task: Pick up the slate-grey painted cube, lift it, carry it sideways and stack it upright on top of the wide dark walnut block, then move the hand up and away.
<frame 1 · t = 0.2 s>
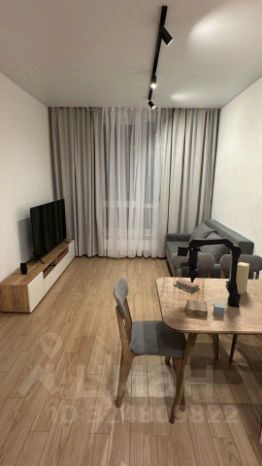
hand: (191, 279, 165), 14 cm above the table, tool pointing down, fingers open, 9 cm apart
slate cube: (218, 313, 152), on the table
walnut block: (196, 311, 155), on the table
packaged product: (186, 287, 189), on the table
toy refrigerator: (239, 291, 183), on the table
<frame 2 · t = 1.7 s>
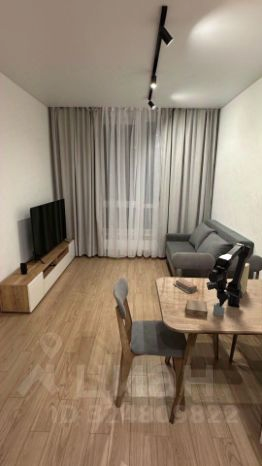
hand: (219, 302, 151), 7 cm above the table, tool pointing down, fingers open, 9 cm apart
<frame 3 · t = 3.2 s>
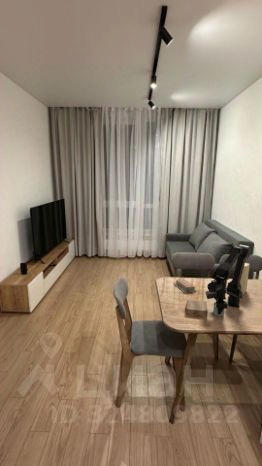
hand: (218, 311, 152), 1 cm above the table, tool pointing down, fingers closed on slate cube, 5 cm apart
slate cube: (218, 313, 152), on the table, touching gripper
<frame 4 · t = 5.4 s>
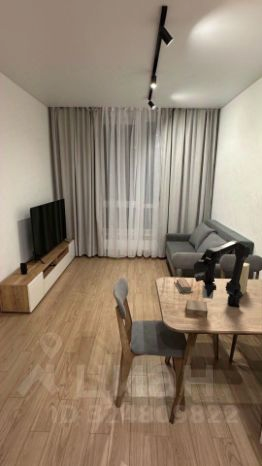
hand: (207, 294, 151), 11 cm above the table, tool pointing down, fingers closed on slate cube, 5 cm apart
slate cube: (207, 296, 151), point 10 cm above the table, touching gripper
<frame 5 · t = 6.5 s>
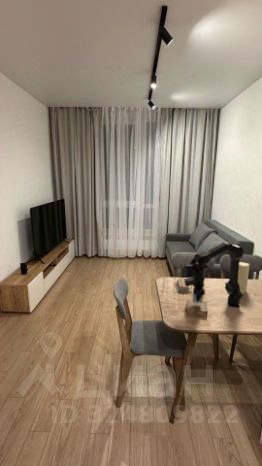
hand: (197, 298, 153), 8 cm above the table, tool pointing down, fingers closed on slate cube, 5 cm apart
slate cube: (197, 300, 153), point 7 cm above the table, touching gripper
when the fingers open (6 cm above the table, at t = 7.6 s): slate cube drops 2 cm, resting on walnut block.
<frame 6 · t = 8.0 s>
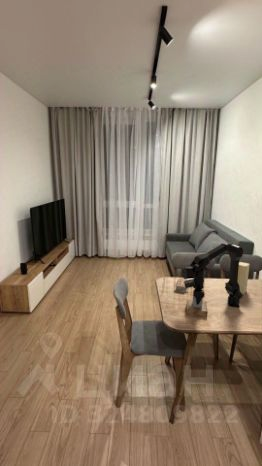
hand: (197, 300, 153), 6 cm above the table, tool pointing down, fingers open, 9 cm apart
slate cube: (197, 305, 154), point 4 cm above the table, touching walnut block
walnut block: (196, 311, 155), on the table, touching slate cube
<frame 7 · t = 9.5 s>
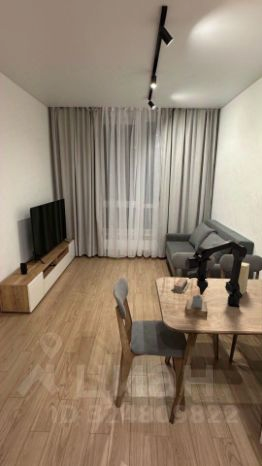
hand: (200, 291, 155), 12 cm above the table, tool pointing down, fingers open, 9 cm apart
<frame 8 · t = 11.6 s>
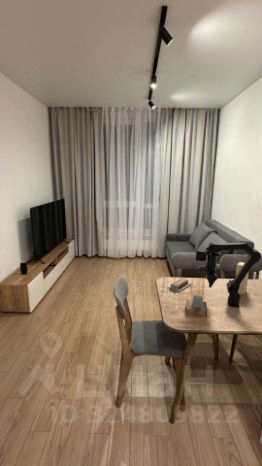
hand: (209, 284, 164), 12 cm above the table, tool pointing down, fingers open, 9 cm apart
at the end: slate cube inside the target area on the walnut block (0.2 cm from its centre), point 4.0 cm above the walnut block's base; slate cube tilted 0°; the gripper is holding nothing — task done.
